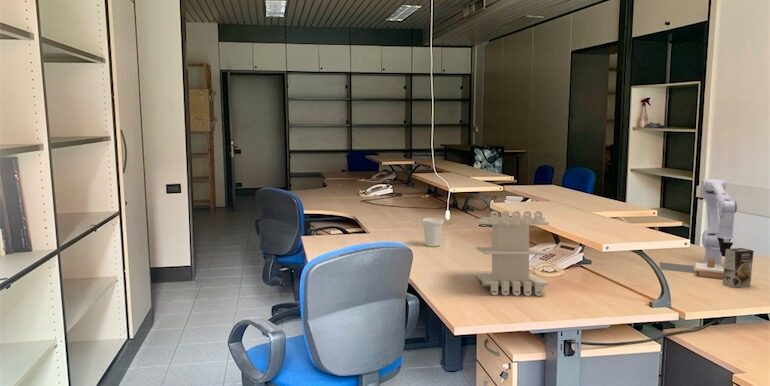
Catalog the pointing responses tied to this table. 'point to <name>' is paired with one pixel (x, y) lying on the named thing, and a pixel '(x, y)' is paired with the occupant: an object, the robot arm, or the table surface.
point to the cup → (432, 231)
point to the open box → (710, 274)
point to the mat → (677, 267)
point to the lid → (710, 266)
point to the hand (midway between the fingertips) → (723, 254)
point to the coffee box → (738, 267)
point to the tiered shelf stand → (512, 253)
